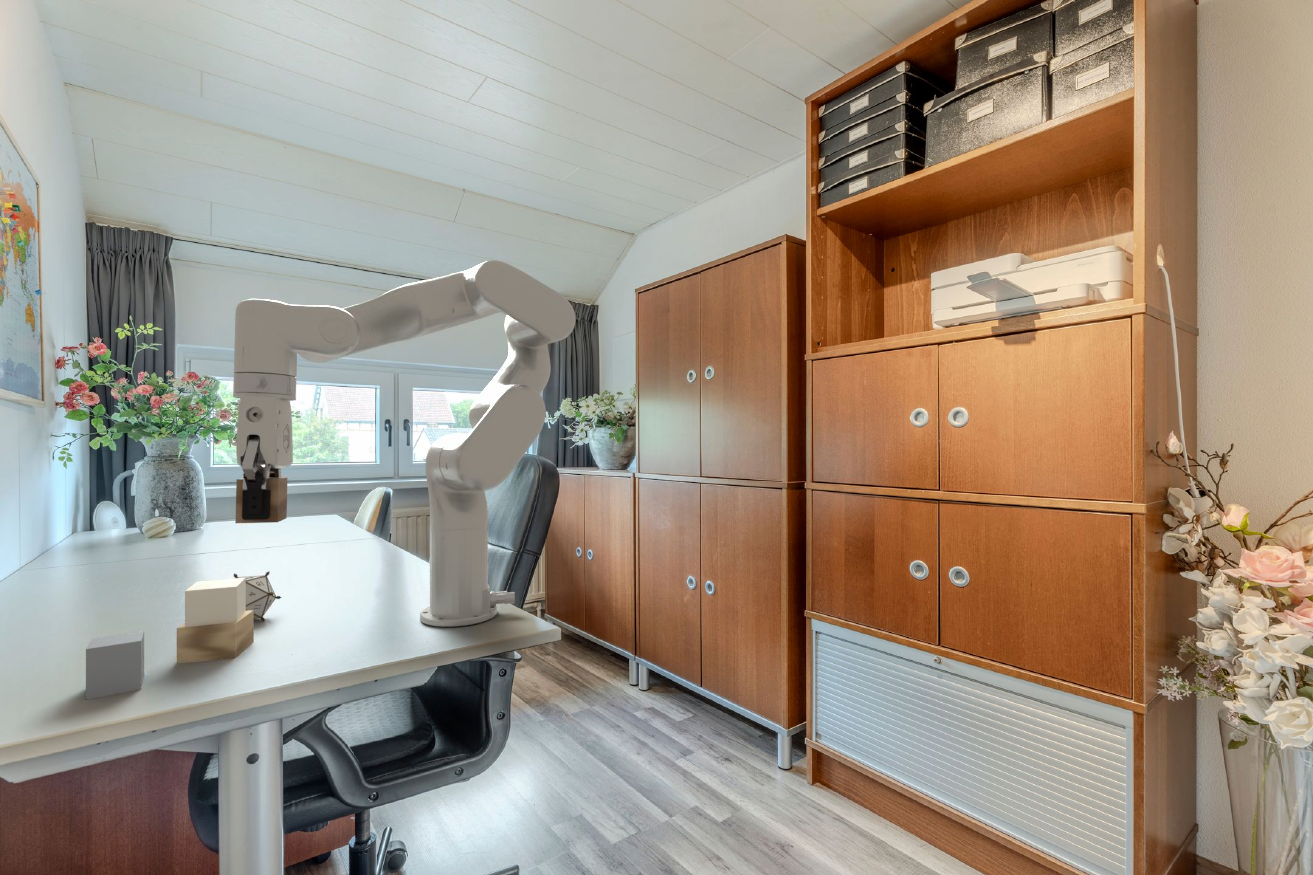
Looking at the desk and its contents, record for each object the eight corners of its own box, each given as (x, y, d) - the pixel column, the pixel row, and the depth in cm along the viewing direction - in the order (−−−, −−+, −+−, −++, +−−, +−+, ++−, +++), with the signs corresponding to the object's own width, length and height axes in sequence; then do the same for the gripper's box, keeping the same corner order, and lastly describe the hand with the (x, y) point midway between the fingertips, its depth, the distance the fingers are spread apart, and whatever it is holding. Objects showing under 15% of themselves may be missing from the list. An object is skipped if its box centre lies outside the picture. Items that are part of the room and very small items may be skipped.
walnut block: (286, 518, 89) (287, 477, 90) (277, 522, 85) (278, 479, 85) (246, 519, 88) (247, 477, 88) (235, 523, 83) (236, 479, 83)
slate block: (144, 676, 79) (144, 630, 79) (141, 689, 75) (141, 640, 75) (91, 686, 76) (92, 638, 76) (85, 699, 72) (85, 649, 72)
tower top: (245, 610, 92) (245, 577, 92) (236, 621, 87) (236, 586, 87) (197, 615, 90) (197, 581, 90) (184, 627, 84) (184, 590, 84)
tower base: (253, 643, 92) (253, 610, 92) (235, 659, 86) (235, 623, 86) (200, 647, 90) (199, 613, 90) (176, 664, 84) (176, 627, 84)
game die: (251, 645, 102) (239, 607, 96) (211, 624, 103) (197, 586, 97) (295, 607, 109) (286, 569, 103) (257, 588, 110) (247, 550, 105)
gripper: (280, 384, 80) (276, 523, 79) (308, 394, 96) (305, 510, 96) (212, 381, 77) (208, 525, 77) (252, 392, 93) (249, 511, 93)
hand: (262, 515), depth 86 cm, fingers closed on walnut block, 5 cm apart
